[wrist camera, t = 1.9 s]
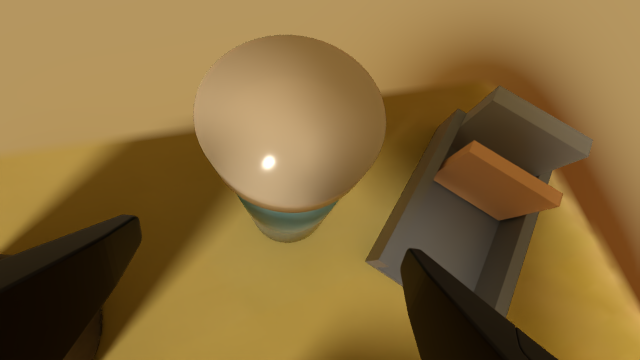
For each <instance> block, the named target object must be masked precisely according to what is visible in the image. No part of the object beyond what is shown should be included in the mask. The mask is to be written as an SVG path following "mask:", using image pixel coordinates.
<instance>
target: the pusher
mask: <svg viewBox="0 0 640 360" xmlns="http://www.w3.org/2000/svg"><path fill="white" fill-rule="evenodd" d="M434 181H436V182H438V183H439V184H441V185H442V186H444V187H445V188H447V189H449V190H450V191H452V192H453V193H455V194H457V195H458V196H460V197H461V198H463V199H465V200H466V201H468V202H469V203H471V204H473V205H474V206H476V207H477V208H479V209H481V210H482V211H484V212H485V213H487V214H489V215H490V216H492V217H493V218H495V219H496V220H498V221H500V220H504V219H509V218H513V217H517V216H521V215H526V214H530V213H534V212H539V211H543V210H547V209H551V208H556V207H559V206H560V203H561V199H562V196H563V194H562V193H561V192H559V191H558V190H556V189H554V188H553V187H551V186H549V185H548V184H546V183H544V182H543V181H541V180H539V179H538V178H536V177H534V176H533V175H531V174H529V173H528V172H526V171H525V170H523V169H521V168H520V167H518V166H516V165H515V164H513V163H511V162H510V161H508V160H506V159H505V158H503V157H501V156H500V155H498V154H496V153H495V152H493V151H492V150H490V149H488V148H487V147H485V146H483V145H482V144H480V143H478V142H477V141H475V140H474V141H472V142H471V143H469V144H468V145H466V146H465V147H464V148H462V149H461V150H459V151H458V152H456V153H455V154H453V155H452V156H451V157H449V158H448V159H446V160H445V161H443V162H442V164H441V166H440V168H439V170H438V172H437V174H436V176H435V178H434Z"/></svg>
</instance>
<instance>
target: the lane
mask: <svg viewBox="0 0 640 360" xmlns="http://www.w3.org/2000/svg"><path fill="white" fill-rule="evenodd" d="M474 140H475V141H477V142H478V143H480V144H482V145H483V146H485V147H487V148H488V149H490V150H492V151H493V152H495V153H496V154H498V155H500V156H501V157H503V158H505V159H506V160H508V161H510V162H511V163H513V164H515V165H516V166H518V167H520V168H521V169H523V170H525V171H526V172H528V173H529V174H531V175H533V176H534V177H536V178H538V179H539V180H541V181H543V182H544V183H546V184H548V182H549V179H550V176H551V173H552V170H554V169H557V168H560V167H562V166H565V165H567V164H570V163H572V162H575V161H578V160H581V159H584V158H586V157H588V156H589V153H590V149H591V145H592V141H593V140H592V139H591V138H589V137H587V136H585V135H584V134H582V133H580V132H579V131H577V130H575V129H573V128H572V127H570V126H568V125H567V124H565V123H563V122H561V121H560V120H558V119H556V118H555V117H553V116H551V115H550V114H548V113H546V112H544V111H543V110H541V109H539V108H538V107H536V106H534V105H532V104H531V103H529V102H527V101H526V100H524V99H522V98H520V97H519V96H517V95H515V94H514V93H512V92H510V91H508V90H507V89H505V88H503V87H502V86H498V87H497V88H496V89H495V90H494V91H493V92H491V93H490V94H489V95H488V96H487V97H486V98H484V99H483V100H482V101H481V102H480V103H479V104H477V105H476V106H475V107H474V108H473V109H472V110H471V111H469V112H468V113H467V114H466V113H465V112H463V111H461V110H460V109H457V110H456V111H455V112H454V113H453V114H452V115H451V116H450V117H449V118H447V119H446V120H445V121H444V122H443V123H442V124H441V125H440V126H439V127H438V128H437V130H436V132H435V134H434V136H433V138H432V139H431V141H430V143H429V145H428V147H427V149H426V150H425V152H424V154H423V156H422V158H421V160H420V161H419V163H418V165H417V167H416V169H415V171H414V172H413V174H412V176H411V178H410V180H409V182H408V184H407V185H406V187H405V189H404V191H403V193H402V195H401V196H400V198H399V200H398V202H397V204H396V206H395V207H394V209H393V211H392V213H391V215H390V217H389V218H388V220H387V222H386V224H385V226H384V228H383V229H382V231H381V233H380V235H379V237H378V239H377V241H376V242H375V244H374V246H373V248H372V250H371V252H370V253H369V255H368V257H367V259H366V261H365V262H367V263H368V264H370V265H371V266H373V267H374V268H376V269H377V270H379V271H380V272H382V273H383V274H385V275H386V276H388V277H389V278H391V279H392V280H394V281H395V282H397V283H398V284H400V285H401V286H403V284H402V279H401V273H400V267H401V263H402V261H403V258H404V255H405V253H406V251H407V249H408V248H416V249H420V250H422V251H423V252H424V253H426V254H427V255H428V256H429V257H431V258H432V259H433V260H434V261H436V262H437V263H438V264H439V265H440V266H442V267H443V268H444V269H445V270H447V271H448V272H449V273H450V274H452V275H453V276H454V277H455V278H457V279H458V280H459V281H460V282H462V283H463V284H464V285H465V286H466V287H468V288H469V289H470V290H471V291H473V292H474V293H475V294H476V295H478V296H479V297H480V298H481V299H483V300H484V301H485V302H486V303H488V304H489V305H490V306H491V307H492V308H494V309H495V310H496V311H497V312H499V313H500V314H501V315H502V316H504V317H505V318H506V315H507V312H508V309H509V306H510V303H511V299H512V296H513V293H514V290H515V287H516V284H517V280H518V277H519V274H520V271H521V268H522V265H523V261H524V258H525V255H526V252H527V249H528V246H529V243H530V239H531V236H532V233H533V230H534V227H535V224H536V220H537V217H538V214H539V212H534V213H530V214H526V215H521V216H517V217H513V218H509V219H504V220H500V221H498V220H496V219H495V218H493V217H492V216H490V215H489V214H487V213H485V212H484V211H482V210H481V209H479V208H477V207H476V206H474V205H473V204H471V203H469V202H468V201H466V200H465V199H463V198H461V197H460V196H458V195H457V194H455V193H453V192H452V191H450V190H449V189H447V188H445V187H444V186H442V185H441V184H439V183H438V182H436V181H434V178H435V176H436V174H437V172H438V170H439V168H440V166H441V164H442V162H443V161H445V160H446V159H448V158H449V157H451V156H452V155H453V154H455V153H456V152H458V151H459V150H461V149H462V148H464V147H465V146H466V145H468V144H469V143H471V142H472V141H474Z"/></svg>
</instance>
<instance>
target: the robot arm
mask: <svg viewBox="0 0 640 360" xmlns="http://www.w3.org/2000/svg"><path fill="white" fill-rule="evenodd" d="M141 240H142V234H141V228H140V222H139V218H138V217H137V216H133V215H120V216H117V217H115V218H112V219H109V220H107V221H104V222H101V223H99V224H96V225H93V226H91V227H88V228H85V229H82V230H80V231H77V232H74V233H72V234H69V235H66V236H64V237H61V238H58V239H56V240H53V241H50V242H48V243H45V244H42V245H40V246H37V247H34V248H31V249H29V250H26V251H23V252H21V253H18V254H15V255H13V256H10V257H7V258H5V259H2V260H0V360H63V359H64V358H65V357H66V355H67V354H68V352H69V351H70V350H71V348H72V347H73V346H74V344H75V343H76V341H77V340H78V339H79V337H80V336H81V334H82V333H83V332H84V330H85V329H86V327H87V326H88V325H89V323H90V322H91V320H92V319H93V318H94V316H95V315H96V313H97V312H98V311H99V309H100V308H101V306H102V305H103V304H104V302H105V301H106V299H107V298H108V297H109V295H110V294H111V292H112V291H113V290H114V288H115V287H116V285H117V283H118V282H119V280H120V278H121V277H122V275H123V273H124V271H125V270H126V268H127V266H128V264H129V263H130V261H131V259H132V257H133V256H134V254H135V252H136V250H137V249H138V247H139V245H140V243H141ZM400 273H401V279H402V284H403V290H404V295H405V301H406V306H407V311H408V315H409V319H410V323H411V326H412V330H413V333H414V336H415V340H416V343H417V347H418V350H419V354H420V357H421V360H558V359H557V358H555V357H554V356H553V355H551V354H550V353H549V352H547V351H546V350H545V349H544V348H542V347H541V346H540V345H539V344H537V343H536V342H535V341H533V340H532V339H531V338H530V337H528V336H527V335H526V334H525V333H524V332H522V331H521V330H520V329H519V328H517V327H516V328H515V325H514V324H512V323H511V322H510V321H509V320H507V319H506V318H505V317H504V316H502V315H501V314H500V313H499V312H497V311H496V310H495V309H494V308H492V307H491V306H490V305H489V304H488V303H486V302H485V301H484V300H483V299H481V298H480V297H479V296H478V295H476V294H475V293H474V292H473V291H471V290H470V289H469V288H468V287H466V286H465V285H464V284H463V283H462V282H460V281H459V280H458V279H457V278H455V277H454V276H453V275H452V274H450V273H449V272H448V271H447V270H445V269H444V268H443V267H442V266H440V265H439V264H438V263H437V262H436V261H434V260H433V259H432V258H431V257H429V256H428V255H427V254H426V253H424V252H423V251H422V250H420V249H416V248H408V249H407V251H406V253H405V255H404V258H403V261H402V263H401V267H400Z"/></svg>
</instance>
